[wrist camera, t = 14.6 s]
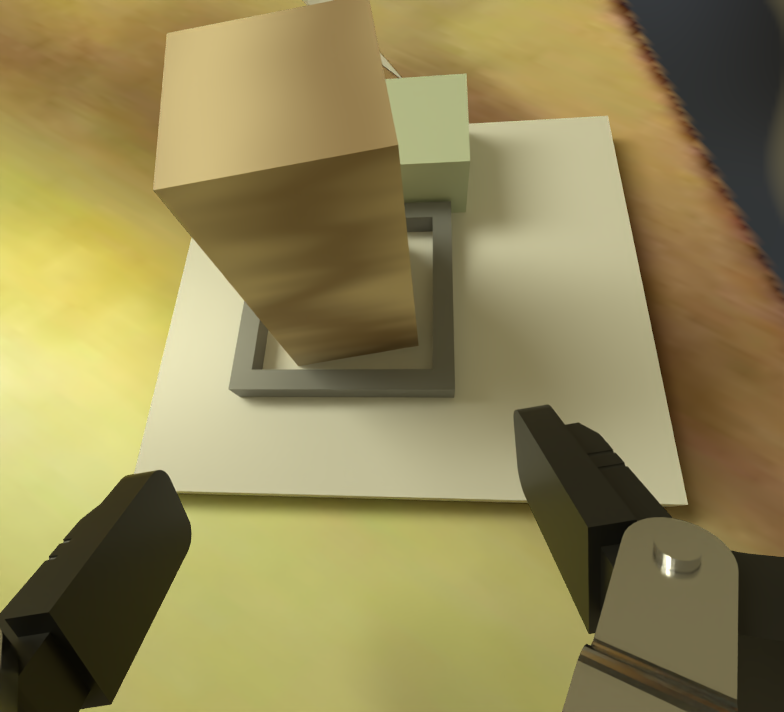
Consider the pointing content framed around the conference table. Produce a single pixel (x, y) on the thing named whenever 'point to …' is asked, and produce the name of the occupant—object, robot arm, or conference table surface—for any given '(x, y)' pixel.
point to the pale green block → (432, 137)
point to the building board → (437, 348)
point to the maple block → (292, 174)
